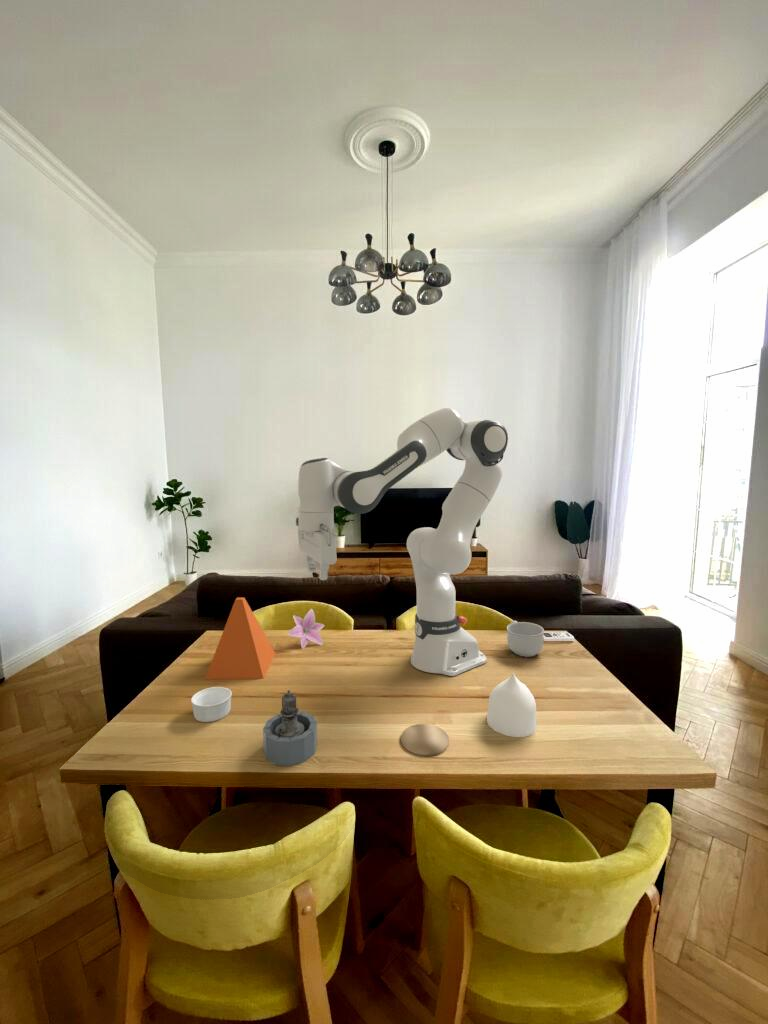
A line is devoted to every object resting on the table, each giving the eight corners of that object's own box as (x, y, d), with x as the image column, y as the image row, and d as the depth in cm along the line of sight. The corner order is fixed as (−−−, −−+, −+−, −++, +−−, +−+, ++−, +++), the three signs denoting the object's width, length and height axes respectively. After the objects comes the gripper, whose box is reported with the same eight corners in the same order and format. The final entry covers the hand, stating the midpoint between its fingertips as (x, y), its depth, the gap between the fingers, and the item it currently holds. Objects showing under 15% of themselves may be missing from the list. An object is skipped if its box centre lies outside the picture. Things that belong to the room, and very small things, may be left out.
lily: (281, 652, 141) (289, 630, 136) (286, 625, 151) (294, 604, 147) (318, 660, 143) (327, 639, 139) (320, 633, 154) (329, 613, 149)
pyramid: (275, 653, 137) (273, 590, 135) (263, 678, 121) (261, 607, 119) (223, 654, 137) (220, 590, 134) (204, 679, 121) (201, 607, 119)
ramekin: (191, 707, 107) (190, 690, 107) (230, 700, 111) (230, 683, 110) (191, 728, 99) (190, 709, 99) (234, 719, 103) (233, 701, 102)
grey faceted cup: (307, 728, 99) (307, 706, 98) (323, 755, 90) (322, 732, 89) (259, 741, 94) (259, 718, 94) (270, 771, 85) (270, 747, 84)
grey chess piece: (290, 758, 88) (289, 700, 87) (269, 748, 91) (267, 692, 90) (310, 742, 93) (309, 687, 92) (289, 733, 96) (288, 680, 95)
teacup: (548, 660, 133) (549, 634, 132) (511, 660, 133) (512, 634, 132) (533, 641, 146) (534, 618, 145) (499, 641, 146) (500, 617, 146)
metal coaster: (432, 722, 101) (432, 719, 101) (458, 747, 92) (458, 744, 92) (392, 733, 97) (392, 731, 97) (416, 761, 88) (416, 758, 88)
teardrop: (531, 743, 94) (534, 689, 92) (480, 728, 99) (481, 676, 98) (541, 717, 103) (543, 667, 102) (493, 704, 109) (495, 657, 107)
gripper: (342, 526, 107) (343, 583, 108) (316, 517, 125) (316, 565, 127) (317, 528, 104) (318, 586, 106) (293, 518, 122) (294, 568, 124)
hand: (317, 575), depth 116 cm, fingers open, 8 cm apart
